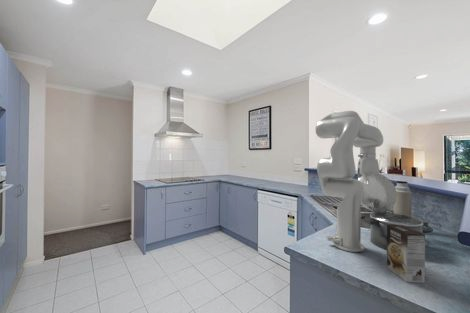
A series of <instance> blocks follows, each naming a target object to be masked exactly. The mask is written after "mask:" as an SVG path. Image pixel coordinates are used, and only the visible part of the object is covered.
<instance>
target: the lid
mask: <svg viewBox="0 0 470 313" xmlns="http://www.w3.org/2000/svg"><path fill="white" fill-rule="evenodd" d="M357 180H359V181H360V182H361V183H362V184H363V193H362V198H361V206H363V207H364V208H365V209H367V210H369V211H371V213H387V211H389V210H391V209H393V208H394V204H395V202H396V199H397V193H396V189H395V184H394V183H393V181H391V180H390V178H388V177H387V176H386V175H383V174H381V173H380V172H379V173H367V174H364V175H362V176H361V177H360V178H357Z"/></svg>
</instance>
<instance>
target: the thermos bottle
mask: <svg viewBox="0 0 470 313" xmlns="http://www.w3.org/2000/svg"><path fill="white" fill-rule="evenodd" d="M394 187H395V189H396V193H397V199H396V202H395V204H394V206H393V214H399V215H405V216H409V217H412V191H411V189H410V187H409V185H408V181H404V180H403V181H402V180H400V181H399V180H397V181H396V186H395V185H394Z"/></svg>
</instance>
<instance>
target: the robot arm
mask: <svg viewBox="0 0 470 313" xmlns="http://www.w3.org/2000/svg"><path fill="white" fill-rule="evenodd" d="M315 134H316V136H317V137H318V138H320V139H335V138H336V141H335V142H333V144H332V145H331V147H330V150H329V151H330V157H322V158H321V159H319V160H318V162H317V166H316V171H317V176H318V181H319V184H320V188H321V191H322V193H323V194H324V195H325V196H327V197H334V198H339V199H342V200H341V201H340V202H339V203H338V205H337V206H336V207H337V208H336V233H334V235H333V236H329V235H327V236H326V241H327V242H328V241H329V242H331V243H332V244H333V245H334V246H335V247H336V248H338V249H340V250H342V251H345V252H350V253H363V252H364V251H365V249H366V248H365V245H363V244H362V240H361V236H362V235H361V224H362V223H361V219H362V218H361V215H362V212H361V209H362V208H361V207H362V204H361V198H362V193H363V184H362V183H361V182H360V181H359V180H358V179H359V178H360V177H361V176H362V175H364V174H367V173H379V174H380V166H379V164H380V163H379V160H378V159H377V157H376V153H377V152H376V149H377V148H379V147H381V146H382V145H383V143H384V136H383V134H382V131H381V130H380V129H379V127H376V126H373V125H370V124H366V123H364V121H363V119H362V117H361V116H360V114H359V113H358V112H356V111H354V110H345V111H339V112H333V113H332V112H331V113H330V114H328V115H326V116H324V117H323V118H321V119H320V120H318V122H316V125H315ZM354 147H355V148H360V149H359V151H360V152H359V154H357V155H358V157H359V159H358V161H357V162H358V163H357V168H356V163H355V158H354V150H353V148H354ZM356 170H357V171H356ZM356 173H357V178H354V177H355V176H356Z"/></svg>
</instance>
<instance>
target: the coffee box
mask: <svg viewBox="0 0 470 313" xmlns="http://www.w3.org/2000/svg"><path fill="white" fill-rule="evenodd" d="M386 268H387V269H389V270H390V271H391V272H392V273H394V274H395V275H397V276H398V278H401V280H402V281H404V282H405V283H420V284H421V283H423V284H425V283H426V282H425V281H426V280H425V277H426V273H425V272H426V271H425V270H426V234H425V233H423V232H422V233H421V232H418V231H416V230H413V229H411V228H409V227H406V226H404V225H387V250H386Z"/></svg>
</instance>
